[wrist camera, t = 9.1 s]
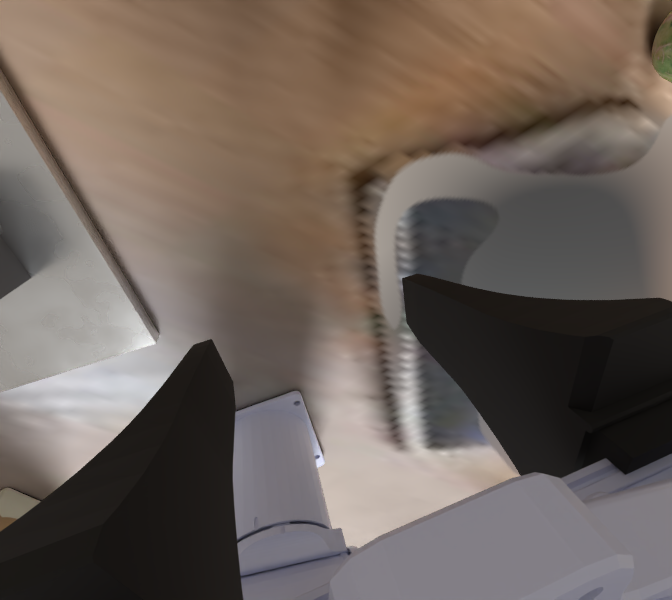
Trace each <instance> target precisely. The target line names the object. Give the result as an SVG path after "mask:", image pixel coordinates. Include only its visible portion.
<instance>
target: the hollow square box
mask: <svg viewBox="0 0 672 600" xmlns="http://www.w3.org/2000/svg"><path fill="white" fill-rule="evenodd" d="M29 279H31V276H30V275H29V274H28V272H27V271H26V270H25V268H24V267H23V266H22V264H21V263H20V262H19V261H18V259H17V258H16V257H15V255H14V254H13V253H12V251H11V250H10V249H9V247H8V246H7V245H6V243H5V242H4V241H3V240H2V238H1V237H0V299H1V298H3V297H4V296H6V295H7V294H9V293H10V292H12V291H13V290H15V289H16V288H17V287H19V286H20V285H22V284H23V283H25V282H26V281H28V280H29Z"/></svg>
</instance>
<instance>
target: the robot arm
mask: <svg viewBox="0 0 672 600" xmlns="http://www.w3.org/2000/svg"><path fill="white" fill-rule="evenodd" d="M402 282H403V292H404V301H405V311H406V321H407V324H408V325H409V327H410V328H411V330H412V332H413V333H414V335H415V336H416V337H417V339H418V340H419V342H420V343H421V344H422V345H423V346H424V348H425V349H426V350H427V351H428V352H429V353H430V354H431V355H432V356H433V358H434V359H435V360H436V361H437V362H438V363H439V364H440V365H441V366H442V367H443V369H444V370H445V371H446V372H447V373H448V374H449V375H450V376H451V377H452V378H453V380H454V381H455V382H456V383H457V384H458V385H459V386H460V388H461V389H462V390H463V391H464V393H465V394H466V395H467V397H468V398H469V399H470V401H471V402H472V404H473V405H474V406H475V408H476V409H477V410H478V412H479V413H480V414H481V416H482V417H483V419H484V420H485V422H486V423H487V425H488V426H489V428H490V429H491V430H492V432H493V433H494V435H495V436H496V438H497V439H498V441H499V442H500V444H501V445H502V447H503V449H504V450H505V451H506V453H507V455H508V456H509V458H510V459H511V461H512V462H513V464H514V465H515V467H516V469H517V470H518V472H519V474H520V475H521V476H519V477H515V478H511V479H509V480H507V481H504V482H502V483H500V484H497V485H495V486H493V487H491V488H488V489H486V490H484V491H481V492H479V493H477V494H475V495H472V496H470V497H468V498H465V499H463V500H461V501H459V502H456V503H454V504H452V505H449V506H447V507H445V508H443V509H440V510H438V511H436V512H433V513H431V514H429V515H427V516H424V517H422V518H420V519H417V520H415V521H413V522H411V523H408V524H406V525H404V526H401V527H399V528H397V529H395V530H392V531H390V532H388V533H385V534H383V535H381V536H379V537H377V538H375V539H374V540H372V541H370V542H369V543H367V544H365V545H364V546H362V547H360V548H357V547H355V546H350V547H346V544H345V540H344V537H343V533H342V529H341V528H338V529H332V527H331V523H330V519H329V515H328V510H327V506H326V502H325V498H324V494H323V490H322V486H321V482H320V477H319V473H318V469H317V468H318V467H320V466H322V465H323V464H324V463H325V460H324V457H323V454H322V451H321V448H320V446H319V443H318V440H317V437H316V435H315V432H314V429H313V426H312V423H311V421H310V418H309V415H308V412H307V409H306V407H305V404H304V401H303V398H302V396H301V393H300V392H299V391H293V392H290V393H287V394H284V395H281V396H279V397H276V398H273V399H270V400H267V401H264V402H262V403H259V404H256V405H253V406H250V407H248V408H245V409H242V410H239V411H236V412H235V396H234V387H233V381H232V379H231V377H230V375H229V373H228V371H227V369H226V367H225V365H224V363H223V361H222V359H221V357H220V355H219V353H218V351H217V349H216V347H215V345H214V343H213V341H212V339H210V340H207V341H204V342H201V343H198V344H195V345H193V346H192V348H191V349H190V350H189V351H188V353H187V354H186V355H185V356H184V358H183V359H182V361H181V362H180V363H179V365H178V366H177V367H176V369H175V370H174V371H173V372H172V374H171V375H170V376H169V378H168V379H167V380H166V382H165V383H164V384H163V386H162V387H161V388H160V389H159V390H158V392H157V393H156V394H155V395H154V396H153V397H152V399H151V400H150V401H149V402H148V403H147V405H146V406H145V407H144V408H143V409H142V411H141V412H140V413H139V414H138V415H137V416H136V417H135V418H134V419H133V420H132V421H131V423H130V424H129V425H128V426H127V427H126V428H125V429H124V430H123V431H122V432H121V433H120V434H119V435H118V436H117V437H116V438H115V439H114V440H113V441H112V442H111V443H109V444H108V445H107V446H106V447H105V448H104V449H103V450H102V451H101V452H99V453H98V454H97V455H96V456H95V457H94V458H93V459H92V460H91V461H89V462H88V463H87V464H86V465H85V466H84V467H83V468H82V469H81V470H79V471H78V472H77V473H76V474H75V475H73V476H72V477H71V478H70V479H69V480H67V481H66V482H65V483H64V484H62V485H61V486H60V487H59V488H58V489H56V490H55V491H54V492H53V493H51V494H50V495H49V496H47V497H46V498H45V499H44V500H42V501H41V502H40V503H38V504H37V505H36V506H35V507H33V508H32V509H31V510H29V511H28V512H27V513H25V514H24V515H23V516H21V517H20V518H18V519H17V520H16V521H14V522H13V523H11V524H10V525H9V526H7V527H6V528H4V529H3V530H2V531H0V600H672V302H671V301H669V300H666V299H662V298H646V299H625V300H560V299H544V298H533V297H524V296H516V295H509V294H502V293H496V292H491V291H487V290H482V289H477V288H473V287H469V286H465V285H461V284H457V283H453V282H449V281H446V280H442V279H438V278H434V277H430V276H426V275H421V274H415V275H412V276H408V277H405V278H402ZM295 401H298V402H295Z"/></svg>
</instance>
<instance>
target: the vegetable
mask: <svg viewBox="0 0 672 600" xmlns="http://www.w3.org/2000/svg"><path fill="white" fill-rule="evenodd" d="M652 63H653V66H654V68H655V70H656V71H657V72H658V74H659V75H660V76H661V77H662V78H664V79H666V80H668V81H670V82H671V83H672V11H671V12H670V13H669V14H668V15H667V17H666V18H665V20H664V21H663V23H662V24H661V26H660V27H659V29H658V31H657V34H656V36H655V39H654V43H653V48H652Z"/></svg>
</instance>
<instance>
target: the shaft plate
mask: <svg viewBox="0 0 672 600" xmlns="http://www.w3.org/2000/svg"><path fill="white" fill-rule="evenodd" d="M0 237H1V238H2V240H3V241H4V242H5V243H6V245H7V246H8V247H9V249H10V250H11V251H12V253H13V254H14V255H15V257H16V258H17V259H18V261H19V262H20V263H21V264H22V266H23V267H24V268H25V270H26V271H27V272H28V274H29V275H30V276H31V279H29V280H28V281H26V282H25V283H23V284H22V285H20V286H19V287H17V288H16V289H15V290H13V291H12V292H10V293H9V294H7V295H6V296H4V297H3V298H1V299H0V392H3V391H6V390H9V389H12V388H16V387H19V386H22V385H25V384H28V383H32V382H35V381H38V380H41V379H44V378H48V377H51V376H54V375H57V374H60V373H64V372H67V371H70V370H73V369H76V368H80V367H83V366H86V365H89V364H92V363H96V362H99V361H102V360H105V359H108V358H112V357H115V356H118V355H121V354H124V353H128V352H131V351H134V350H137V349H140V348H144V347H147V346H150V345H153V344H156V343H157V340H158V338H159V335H160V334H159V333H158V331H157V329H156V328H155V326H154V324H153V323H152V321H151V319H150V318H149V316H148V314H147V313H146V311H145V309H144V308H143V306H142V304H141V303H140V301H139V299H138V298H137V296H136V294H135V293H134V291H133V289H132V288H131V286H130V284H129V283H128V281H127V279H126V278H125V276H124V274H123V273H122V271H121V269H120V268H119V266H118V264H117V263H116V261H115V259H114V257H113V256H112V254H111V252H110V251H109V249H108V247H107V246H106V244H105V242H104V241H103V239H102V237H101V236H100V234H99V232H98V231H97V229H96V227H95V226H94V224H93V222H92V221H91V219H90V217H89V216H88V214H87V212H86V211H85V209H84V207H83V206H82V204H81V202H80V201H79V199H78V197H77V196H76V194H75V192H74V191H73V189H72V187H71V186H70V184H69V182H68V181H67V179H66V177H65V175H64V174H63V172H62V170H61V169H60V167H59V165H58V164H57V162H56V160H55V159H54V157H53V155H52V154H51V152H50V150H49V149H48V147H47V145H46V144H45V142H44V140H43V139H42V137H41V135H40V134H39V132H38V130H37V129H36V127H35V125H34V124H33V122H32V120H31V119H30V117H29V115H28V114H27V112H26V110H25V109H24V107H23V105H22V104H21V102H20V100H19V99H18V97H17V95H16V94H15V92H14V90H13V88H12V87H11V85H10V83H9V82H8V80H7V78H6V77H5V75H4V73H3V72H2V70H1V68H0Z"/></svg>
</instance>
